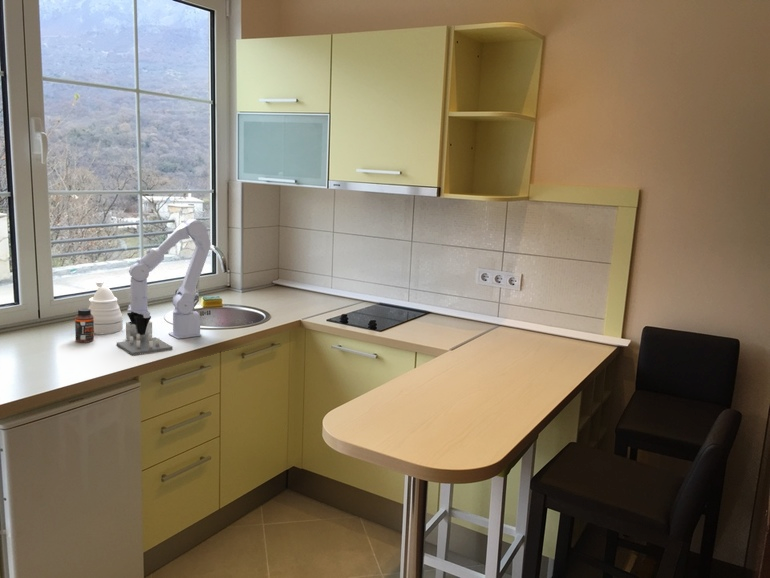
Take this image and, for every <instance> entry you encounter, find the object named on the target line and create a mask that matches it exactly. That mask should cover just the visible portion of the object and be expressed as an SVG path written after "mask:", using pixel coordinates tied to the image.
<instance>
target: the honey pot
mask: <svg viewBox="0 0 770 578" xmlns="http://www.w3.org/2000/svg"><path fill="white" fill-rule="evenodd" d="M95 284H96V287H98V289H97V290H96V291H95V292H94V295H93V296H92V297H90V298H89V299H88V302H89V306H88V308H87V309H91V315H93V317H94V334H98V333H105V334H113V332H114V333H118V332H120V331H122V330H123V328H124V325H123V324H124V322H123V320H124V319H123V314H122V312H121V309H120V308H121V307H120V305H119V304H118V298H117V297H116V296H115V295H114V293H113V291H112V290H111V289H110V288H109V287H108V286H106V285H104V281H102V280H100V281H98V280H97V281H96V282H95Z"/></svg>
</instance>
